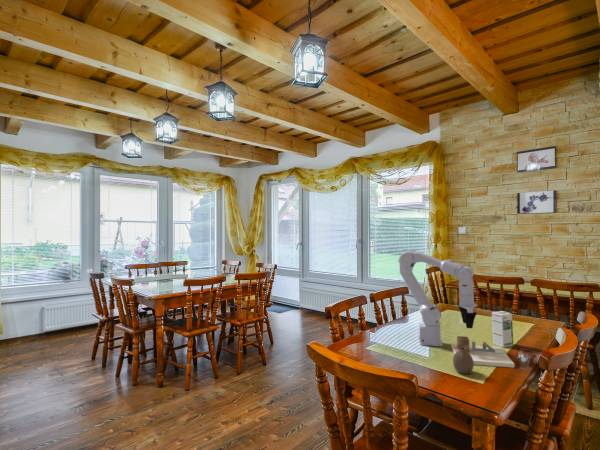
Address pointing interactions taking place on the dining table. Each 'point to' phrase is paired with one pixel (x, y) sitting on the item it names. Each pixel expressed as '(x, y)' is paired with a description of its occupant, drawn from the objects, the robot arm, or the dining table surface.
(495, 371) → the dining table surface
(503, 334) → the syrup box
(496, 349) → the board
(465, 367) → the vase
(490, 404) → the dining table surface
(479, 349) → the bent wire
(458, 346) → the walnut block
